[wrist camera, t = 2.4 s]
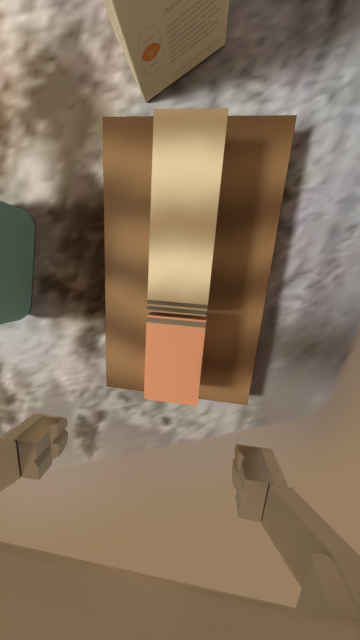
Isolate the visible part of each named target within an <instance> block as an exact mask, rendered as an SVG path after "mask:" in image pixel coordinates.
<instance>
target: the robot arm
mask: <svg viewBox="0 0 360 640" xmlns="http://www.w3.org/2000/svg"><path fill="white" fill-rule="evenodd" d="M66 426H67V419H65V418H62V417H57V416H51V415H44V414H39V413H36V414H33V415H31V416H30V417H29V418H28V419H26V420H25V421H24V422H22V423H21V424H20V425H19V426H17V427H16V428H15V429H13V430H12V431H11V432H10V433H8V434H7V435H6V436H4V437H3V438H2V439H1V438H0V491H2V490H3V489H5V488H6V487H8V486H9V485H11V484H12V483H14V482H15V481H17V480H18V479H20V477H24V478H31V479H37V480H39V479H40V478H41V477H42V476H43V475H44V473H45V472H46V471H47V470H48V469H49V467H50V466H51V464H52V460H53V459H54V458H56V457H58V456H59V455H60V454H61V453H62V451H63V450H64V448H65V446H66V444H67V440H68V433H67V431H66V430H65V428H66ZM234 452H235V457H236V458H234V459H233V465H232V477H233V486H234V487H235V489H236V490H237V492H236V497H235V499H236V504H237V511H238V517H239V518H244V519H248V520H253V521H257V522H262V523H261V524H262V526H263V527H264V529H265V530H266V532H267V534H268V535H269V537H270V539H271V540H272V542H273V543H274V545H275V547H276V548H277V550H278V551H279V553H280V554H281V556H282V558H283V559H284V561H285V563H286V564H287V566H288V567H289V569H290V570H291V572H292V574H293V575H294V577H295V579H296V580H297V582H298V583H299V585H300V586H301V588H302V589H301V593H300V596H299V599H298V602H297V606H296V608H293V607H288V606H284V605H280V604H275V603H271V602H266V601H262V600H257V599H253V598H249V597H244V596H240V595H235V594H231V593H227V592H222V591H218V590H213V589H209V588H205V587H200V586H195V585H191V584H187V583H182V582H178V581H174V580H169V579H165V578H160V577H156V576H152V575H147V574H142V573H138V572H134V571H129V570H125V569H121V568H116V567H112V566H107V565H103V564H98V563H94V562H89V561H85V560H80V559H76V558H72V557H67V556H62V555H58V554H54V553H49V552H45V551H40V550H36V549H32V548H27V547H23V546H18V545H14V544H9V543H5V542H1V541H0V640H360V555H359V554H358V553H357V552H356V551H355V550H354V549H353V548H352V547H351V546H350V545H349V544H348V543H347V542H346V541H345V540H344V539H343V538H342V537H341V536H340V535H339V534H338V533H337V532H336V531H335V530H334V529H333V528H332V527H331V526H330V525H329V524H328V523H327V522H326V521H325V520H324V519H323V518H322V517H321V516H320V515H319V514H318V513H317V512H316V511H315V510H314V509H313V508H312V507H311V506H310V505H309V504H308V503H307V502H306V501H305V500H304V499H303V498H302V497H301V496H300V495H299V494H298V493H297V492H296V491H295V490H294V489H293V488H290V487H288V485H287V482H286V480H285V478H284V475H283V474H282V471H281V469H280V466H279V464H278V462H277V459H276V457H275V455H274V452H273V451H272V449H269V448H260V447H253V446H246V445H238V444H236V446H235V451H234Z"/></svg>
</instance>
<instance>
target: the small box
mask: <svg viewBox="0 0 360 640" xmlns="http://www.w3.org/2000/svg"><path fill="white" fill-rule="evenodd" d="M229 1H230V0H103V2H104V5H105V8H106V10H107V13H108V16H109V19H110V21H111V24H112V27H113V29H114V32H115V34H116V36H117V38H118V41H119V43H120V45H121V48H122V50H123V52H124V55H125V57H126V59H127V61H128V64H129V66H130V68H131V71H132V73H133V75H134V78H135V80H136V82H137V84H138V87H139V89H140V91H141V94H142V96H143V98H144V100H145V102H148V101H149V100H150V99H152V98H153V97H154V96H156V95H157V94H158V93H160V92H161V91H162V90H164V89H165V88H166V87H168V86H169V85H171V84H172V83H173V82H175V81H176V80H177V79H179V78H180V77H181V76H183V75H184V74H186V73H187V72H188V71H190V70H191V69H192V68H194V67H195V66H196V65H198V64H199V63H200V62H202V61H203V60H204V59H206V58H207V57H208V56H210V55H211V54H212V53H214V52H215V51H217V50H218V49H219V48H221V47H222V46H224V45H225V43H226V33H227V22H228V12H229Z"/></svg>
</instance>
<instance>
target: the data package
mask: <svg viewBox="0 0 360 640" xmlns="http://www.w3.org/2000/svg"><path fill="white" fill-rule="evenodd" d="M34 242H35V225H34V222H33V219H32V218H31V216H30V215H29V214H28V213H27V212H26V211H24V210H22V209H20V208H18V207H15V206H12V205H10V204H7V203H5V202H2V201H0V324H3V323H8V322H12V321H17V320H20V319H22V318H24V317H25V316H26V315H27V314H28V312H29V311H30V308H31V296H32V278H33V260H34Z"/></svg>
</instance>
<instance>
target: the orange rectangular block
mask: <svg viewBox="0 0 360 640" xmlns="http://www.w3.org/2000/svg"><path fill="white" fill-rule="evenodd" d="M205 328H206V317H205V316H194V315H183V314H173V313H162V312H150V313H149V314H147V317H146V348H145V377H144V399H150V400H157V401H164V402H171V403H179V404H186V405H193V406H197V404H198V395H199V385H200V376H201V366H202V356H203V347H204V337H205Z"/></svg>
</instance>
